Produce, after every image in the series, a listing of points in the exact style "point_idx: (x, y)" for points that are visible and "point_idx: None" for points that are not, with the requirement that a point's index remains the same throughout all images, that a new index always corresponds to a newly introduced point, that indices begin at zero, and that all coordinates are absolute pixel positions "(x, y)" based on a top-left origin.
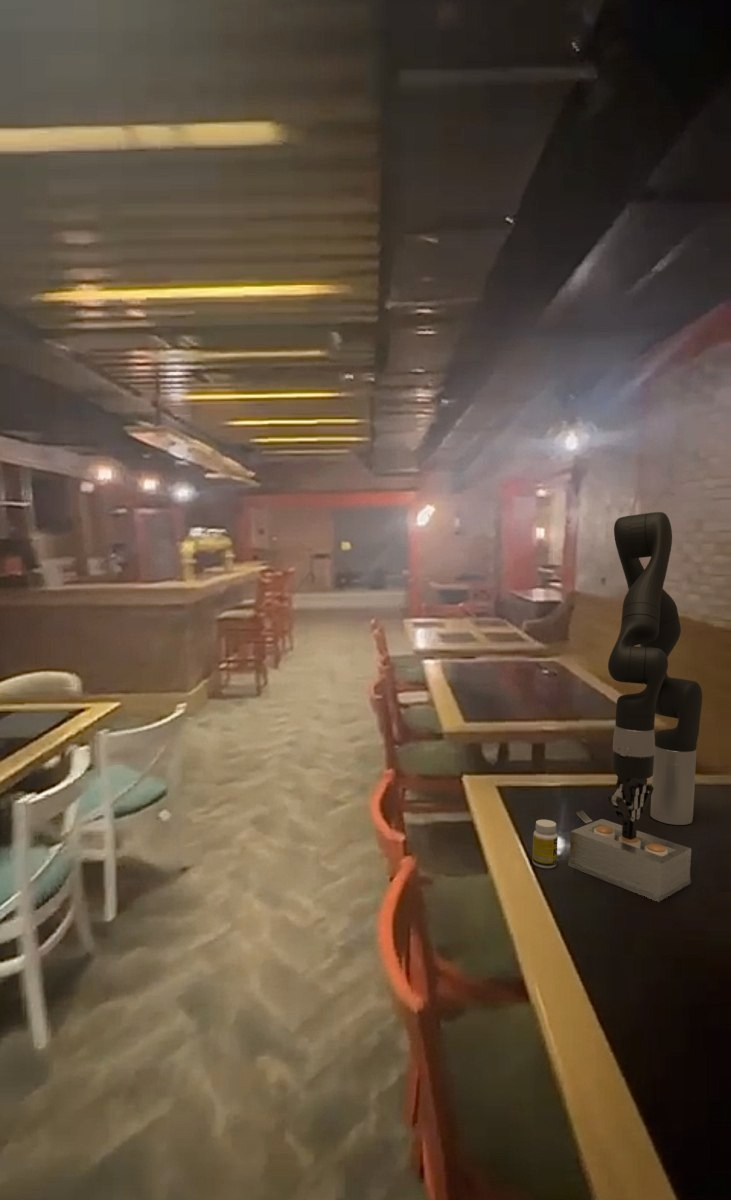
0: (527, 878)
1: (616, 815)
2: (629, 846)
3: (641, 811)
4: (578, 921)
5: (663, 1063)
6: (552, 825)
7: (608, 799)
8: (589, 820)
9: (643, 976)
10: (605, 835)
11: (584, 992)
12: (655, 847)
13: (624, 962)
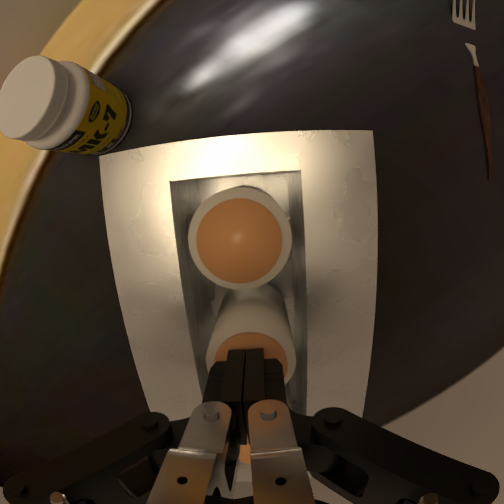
0: (21, 170)
1: (136, 423)
2: (188, 394)
3: (309, 471)
4: (13, 349)
5: (4, 467)
6: (19, 129)
7: (12, 479)
8: (468, 23)
9: (32, 446)
10: (202, 273)
11: None
12: (249, 449)
13: (25, 427)
